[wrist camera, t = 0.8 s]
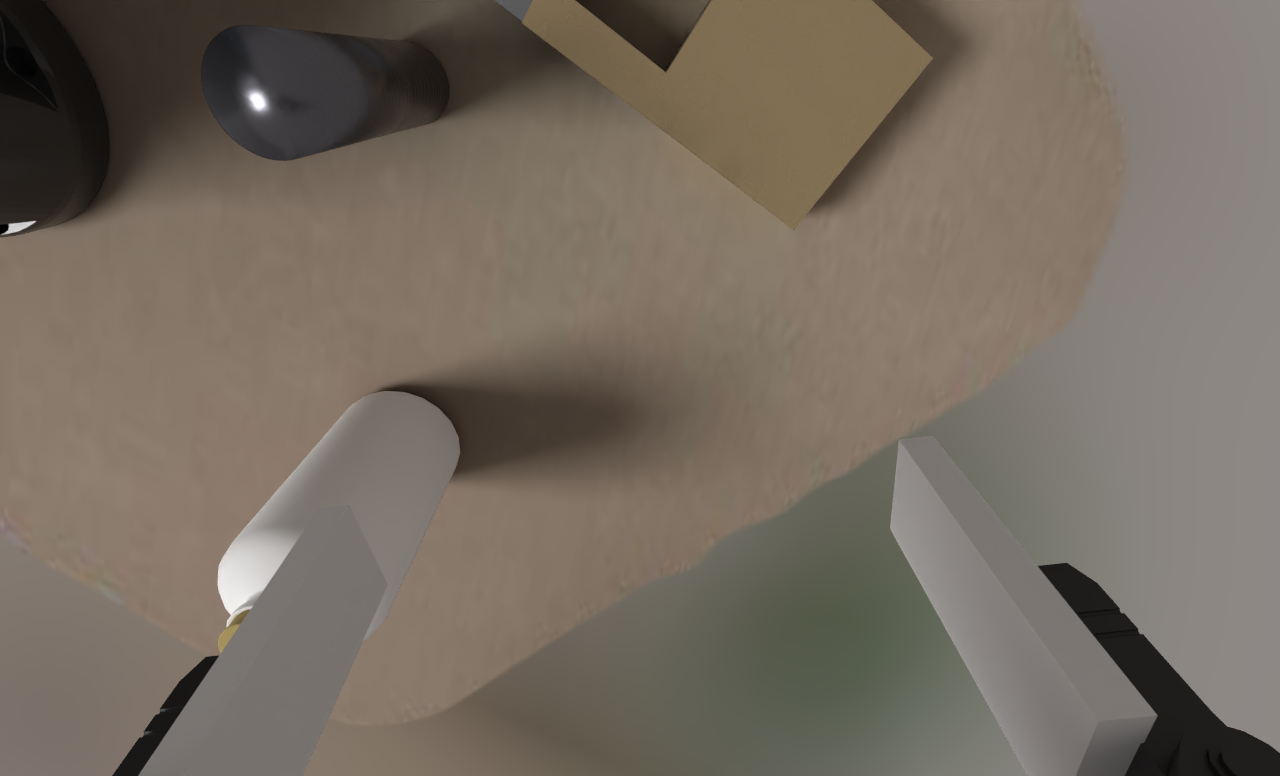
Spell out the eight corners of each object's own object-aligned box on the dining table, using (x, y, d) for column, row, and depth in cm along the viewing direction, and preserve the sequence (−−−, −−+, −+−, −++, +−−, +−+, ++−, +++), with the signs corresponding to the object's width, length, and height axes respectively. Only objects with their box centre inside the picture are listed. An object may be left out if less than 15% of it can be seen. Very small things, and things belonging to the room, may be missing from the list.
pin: (361, 95, 32) (186, 113, 20) (391, 23, 30) (221, -6, 18) (429, 140, 33) (303, 184, 21) (461, 74, 32) (346, 78, 19)
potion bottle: (321, 409, 41) (123, 621, 26) (421, 367, 40) (276, 564, 24) (390, 496, 45) (254, 728, 29) (485, 460, 43) (396, 685, 28)
